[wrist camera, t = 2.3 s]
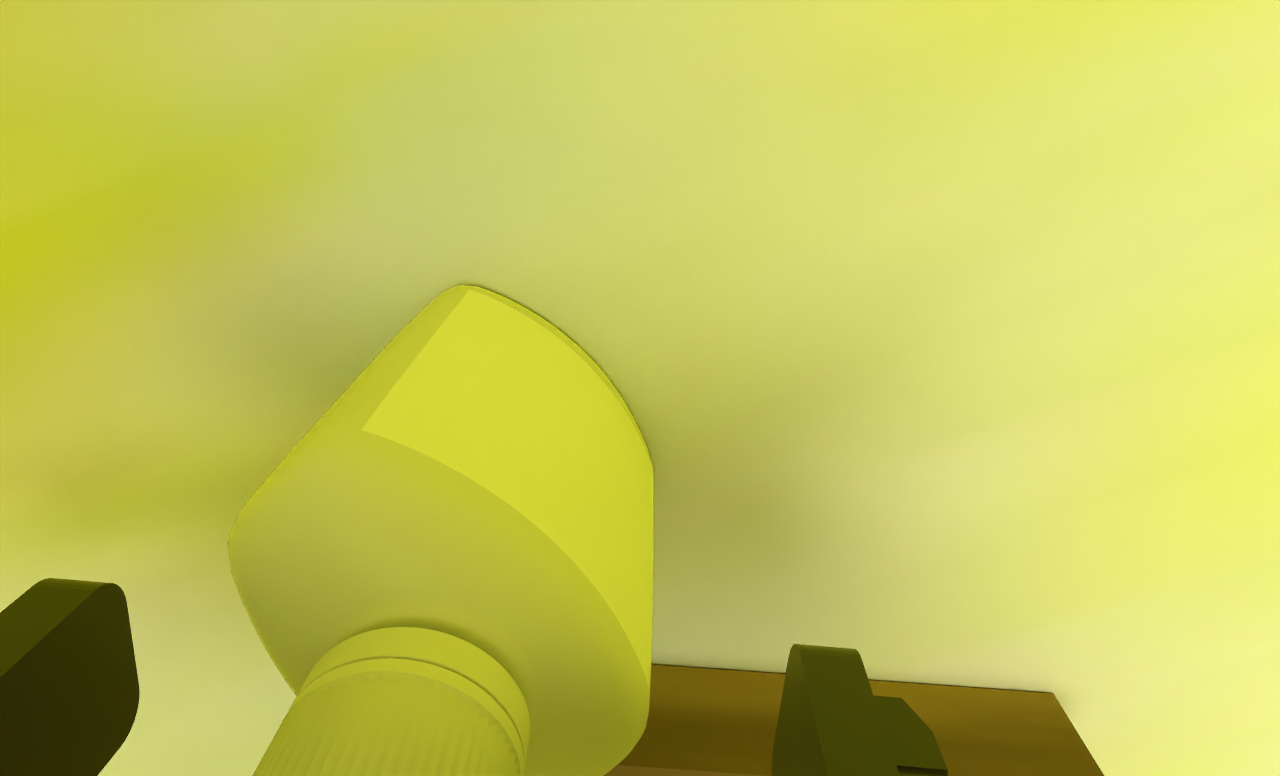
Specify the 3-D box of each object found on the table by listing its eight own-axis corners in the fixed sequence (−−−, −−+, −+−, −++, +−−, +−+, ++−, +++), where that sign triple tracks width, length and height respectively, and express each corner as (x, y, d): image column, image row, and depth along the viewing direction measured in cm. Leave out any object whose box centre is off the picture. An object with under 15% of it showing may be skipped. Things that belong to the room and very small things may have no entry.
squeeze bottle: (600, 246, 16) (474, 692, 5) (665, 507, 18) (683, 1253, 7) (378, 297, 16) (-209, 814, 5) (465, 547, 18) (172, 1309, 7)
